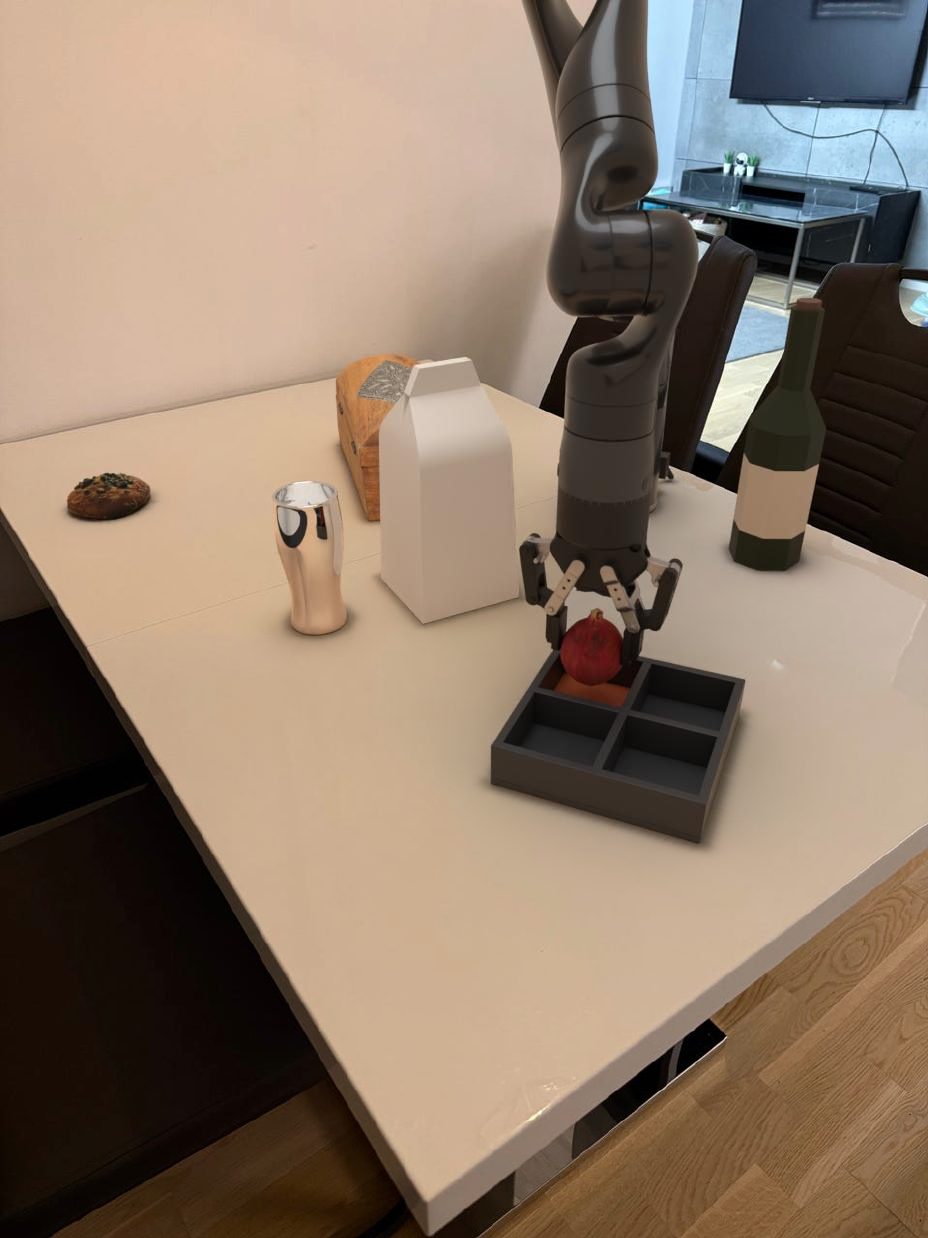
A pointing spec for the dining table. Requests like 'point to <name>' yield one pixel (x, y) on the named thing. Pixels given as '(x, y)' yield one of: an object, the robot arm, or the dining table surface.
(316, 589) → the beer glass
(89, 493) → the bread roll
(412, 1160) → the dining table surface
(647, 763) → the compartment tray
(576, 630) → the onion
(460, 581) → the milk
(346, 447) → the wooden box
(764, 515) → the wine bottle
